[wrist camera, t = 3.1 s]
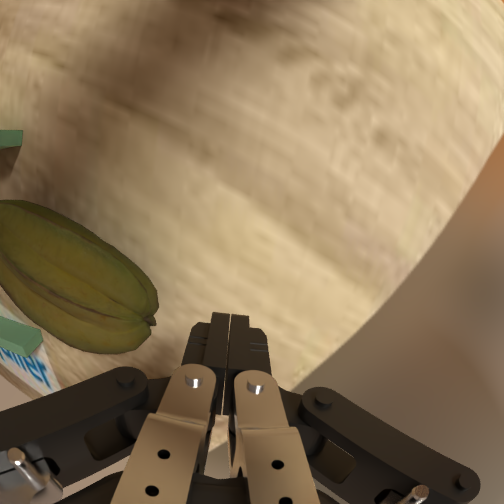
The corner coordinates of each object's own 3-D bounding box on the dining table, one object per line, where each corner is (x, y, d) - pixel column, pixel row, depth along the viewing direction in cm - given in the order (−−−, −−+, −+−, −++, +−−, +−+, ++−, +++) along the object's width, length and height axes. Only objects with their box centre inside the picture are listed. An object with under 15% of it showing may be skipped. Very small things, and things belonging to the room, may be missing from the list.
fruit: (63, 330, 20) (23, 375, 14) (15, 196, 17) (-44, 213, 10) (179, 313, 20) (155, 374, 13) (129, 142, 16) (72, 136, 10)
